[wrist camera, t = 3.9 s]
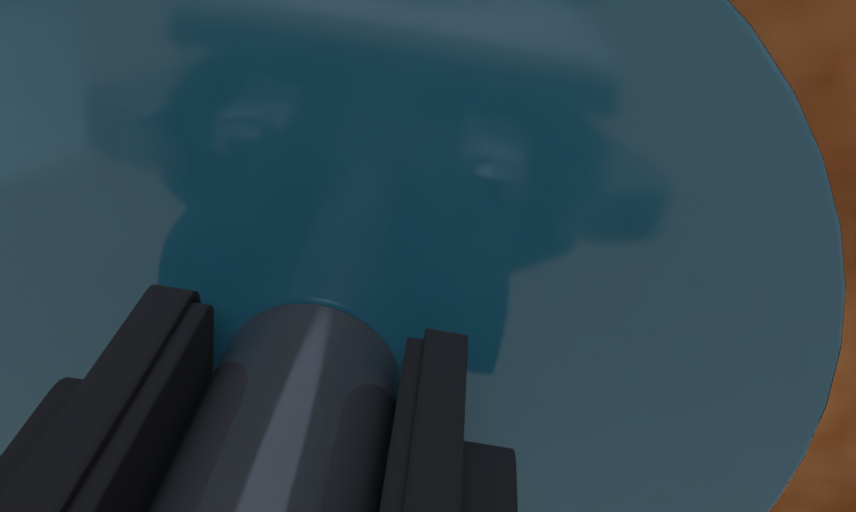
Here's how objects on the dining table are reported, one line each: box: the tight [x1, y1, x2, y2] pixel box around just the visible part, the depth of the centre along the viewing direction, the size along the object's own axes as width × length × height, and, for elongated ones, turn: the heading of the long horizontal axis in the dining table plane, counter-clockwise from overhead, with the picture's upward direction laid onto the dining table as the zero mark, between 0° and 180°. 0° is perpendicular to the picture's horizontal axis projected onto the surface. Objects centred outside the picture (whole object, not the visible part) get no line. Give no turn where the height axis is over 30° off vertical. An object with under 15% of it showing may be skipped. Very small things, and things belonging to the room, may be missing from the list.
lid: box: [0, 0, 846, 512], centre depth 9 cm, size 14×14×6 cm
